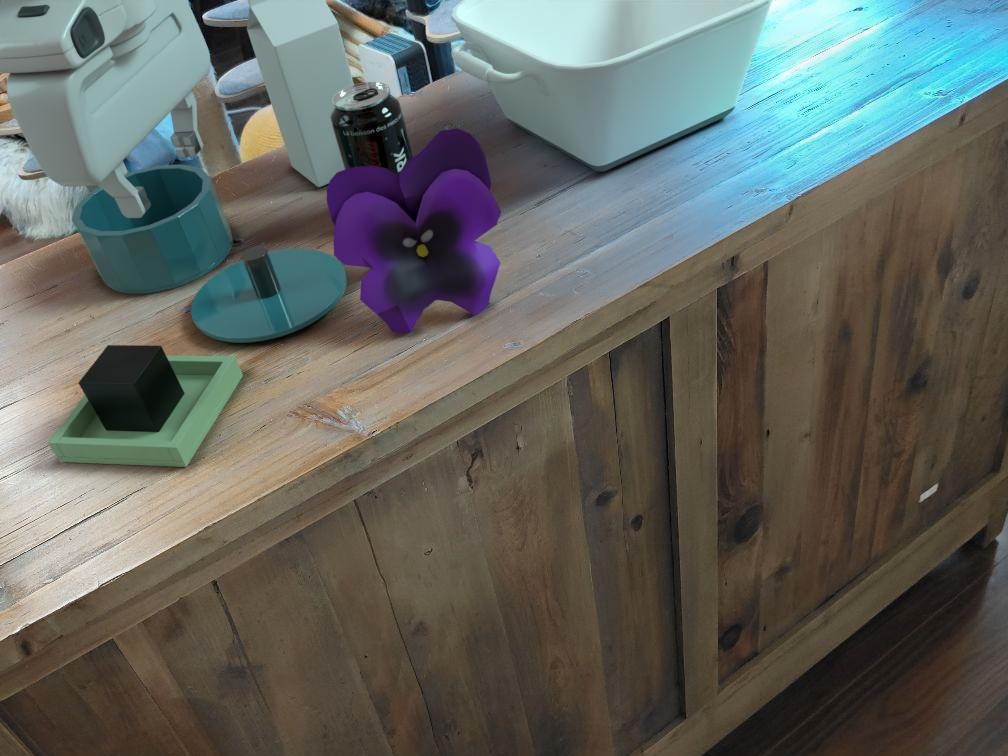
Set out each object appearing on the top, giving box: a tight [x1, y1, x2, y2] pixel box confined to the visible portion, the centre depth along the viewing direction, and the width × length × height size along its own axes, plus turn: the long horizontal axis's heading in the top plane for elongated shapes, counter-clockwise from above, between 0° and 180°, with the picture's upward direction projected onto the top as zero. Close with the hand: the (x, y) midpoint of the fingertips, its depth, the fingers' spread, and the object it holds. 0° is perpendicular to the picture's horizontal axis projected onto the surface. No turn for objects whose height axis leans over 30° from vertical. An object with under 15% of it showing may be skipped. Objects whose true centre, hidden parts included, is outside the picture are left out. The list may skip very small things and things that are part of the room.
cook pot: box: [71, 164, 234, 295], centre depth 101 cm, size 14×14×6 cm
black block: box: [78, 344, 185, 432], centre depth 82 cm, size 5×5×5 cm
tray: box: [47, 354, 244, 468], centre depth 84 cm, size 12×12×2 cm
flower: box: [326, 127, 502, 334], centre depth 90 cm, size 15×15×14 cm
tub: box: [450, 0, 773, 173], centre depth 106 cm, size 34×27×13 cm
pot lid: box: [190, 245, 348, 344], centre depth 93 cm, size 15×15×5 cm
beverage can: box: [331, 81, 414, 176], centre depth 99 cm, size 7×7×12 cm
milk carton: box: [246, 0, 355, 188], centre depth 106 cm, size 7×7×19 cm
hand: (166, 182), depth 80 cm, fingers open, 8 cm apart
